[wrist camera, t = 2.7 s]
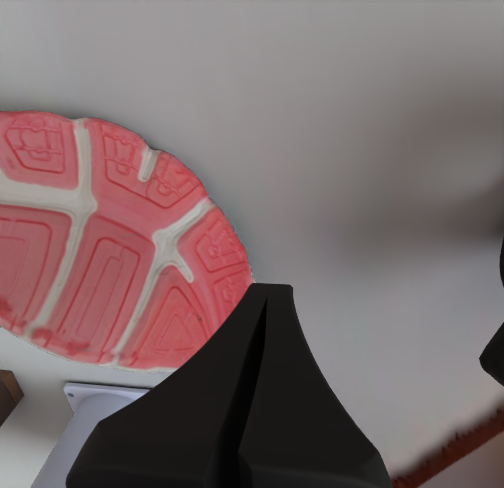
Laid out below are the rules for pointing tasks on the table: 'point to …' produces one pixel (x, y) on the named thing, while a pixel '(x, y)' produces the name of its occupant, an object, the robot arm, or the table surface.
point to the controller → (495, 344)
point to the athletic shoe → (109, 246)
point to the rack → (8, 394)
